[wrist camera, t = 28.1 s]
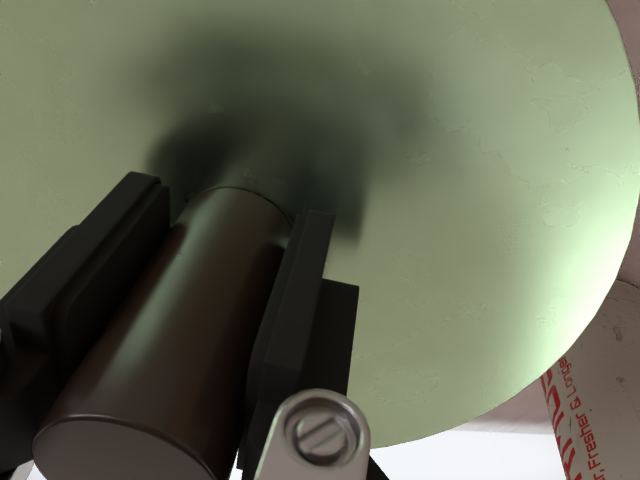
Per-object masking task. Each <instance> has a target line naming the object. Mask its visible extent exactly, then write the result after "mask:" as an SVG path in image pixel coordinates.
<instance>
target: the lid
mask: <svg viewBox="0 0 640 480" xmlns="http://www.w3.org/2000/svg"><path fill="white" fill-rule="evenodd" d="M130 171H135V172H139V173H144V174H149V175H153V176H158V177H160V178H161V181H162V185H166V186H168V187H169V189H170V231H169V232H168V234H167V235H166V237H165V238H164V240H163V241H162V243H161V244H160V246H159V247H158V249H157V250H156V252H155V253H154V255H153V256H152V258H151V259H150V260H149V262H148V263H147V265H146V266H145V268H144V269H143V271H142V272H141V274H140V275H139V277H138V278H137V280H136V281H135V283H134V284H133V286H132V287H131V289H130V290H129V292H128V293H127V295H126V296H125V298H124V299H123V300H122V302H121V303H120V305H119V306H118V308H117V309H116V311H115V312H114V314H113V315H112V317H111V318H110V320H109V321H108V323H107V324H106V326H105V327H104V329H103V330H102V332H101V333H100V335H99V336H98V338H97V339H96V340H95V342H94V343H93V345H92V346H91V348H90V349H89V351H88V352H87V354H86V355H85V357H84V358H83V360H82V361H81V363H80V364H79V366H78V367H77V369H76V370H75V372H74V373H73V375H72V376H71V378H70V379H69V380H68V382H67V383H66V385H65V386H64V388H63V389H62V391H61V392H60V394H59V395H58V397H57V398H56V400H55V401H54V403H53V404H52V406H51V407H50V409H49V410H48V412H47V413H46V415H45V416H44V418H43V419H42V420H41V422H40V423H39V425H38V426H37V428H36V429H35V431H34V433H33V436H32V439H31V455H32V458H33V460H34V463H35V465H36V466H37V468H38V470H39V471H40V472H41V473H42V475H43V476H44V477H45V478H46V479H47V480H229V478H230V475H231V471H232V468H233V465H234V461H235V458H236V455H237V451H238V448H239V445H240V441H241V438H242V435H243V431H244V427H245V418H244V412H243V408H244V400H245V392H246V383H247V375H248V368H249V363H250V358H251V354H252V350H253V346H254V343H255V340H256V337H257V334H258V331H259V328H260V325H261V322H262V319H263V316H264V313H265V310H266V307H267V304H268V301H269V298H270V295H271V292H272V289H273V286H274V283H275V280H276V277H277V274H278V271H279V268H280V265H281V262H282V259H283V256H284V253H285V250H286V247H287V244H288V241H289V238H290V235H291V232H292V229H293V226H294V223H295V220H296V217H297V214H300V215H305V216H307V215H308V212H309V210H310V209H311V210H316V211H320V212H325V213H329V214H334V215H336V216H335V221H334V225H333V230H332V235H331V239H330V244H329V249H328V253H327V258H326V262H325V267H324V272H323V276H322V278H325V279H329V280H334V281H339V282H343V283H348V284H352V285H357V286H359V288H360V289H359V299H358V307H357V315H356V323H355V332H354V340H353V348H352V356H351V364H350V373H349V381H348V389H347V398H348V399H350V400H351V401H352V402H354V403H355V404H356V405H357V406H358V407H359V409H360V410H361V411H362V413H363V414H364V415H365V417H366V419H367V422H368V425H369V427H370V432H371V446H370V449H373V448H381V447H388V446H392V445H397V444H400V443H405V442H410V441H414V440H418V439H422V438H425V437H428V436H431V435H434V434H437V433H440V432H443V431H446V430H449V429H452V428H454V427H456V426H459V425H461V424H463V423H465V422H468V421H470V420H472V419H474V418H477V417H479V416H481V415H483V414H485V413H487V412H488V411H490V410H492V409H494V408H495V407H497V406H499V405H500V404H502V403H504V402H505V401H507V400H509V399H511V398H512V397H514V396H515V395H517V394H518V393H519V392H521V391H522V390H523V389H525V388H526V387H527V386H529V385H530V384H531V383H533V382H534V381H535V380H536V379H538V378H539V377H540V376H542V375H543V374H544V373H545V372H546V371H547V370H548V369H549V368H550V367H551V366H552V365H553V364H554V363H555V362H556V361H557V360H558V359H560V358H561V357H562V356H563V355H564V354H565V353H566V352H567V351H568V350H569V349H570V348H571V346H572V345H573V344H574V343H575V341H576V340H577V339H578V337H579V336H580V335H581V334H582V332H583V331H584V330H585V328H586V327H587V326H588V325H589V323H590V322H591V321H592V319H593V318H594V317H595V315H596V313H597V312H598V310H599V308H600V306H601V305H602V303H603V301H604V299H605V298H606V296H607V294H608V292H609V291H610V289H611V287H612V285H613V284H614V282H615V280H616V277H617V275H618V272H619V269H620V267H621V264H622V261H623V259H624V256H625V254H626V251H627V248H628V246H629V243H630V240H631V237H632V232H633V227H634V223H635V218H636V213H637V208H638V203H639V198H640V111H639V103H638V95H637V87H636V82H635V79H634V75H633V72H632V69H631V65H630V62H629V59H628V55H627V52H626V49H625V45H624V42H623V39H622V36H621V32H620V29H619V26H618V23H617V21H616V19H615V17H614V15H613V13H612V11H611V9H610V7H609V5H608V3H607V1H606V0H0V300H1V299H2V298H3V297H4V295H5V294H6V293H7V292H8V291H9V290H10V289H11V288H12V287H13V286H14V285H15V284H16V283H17V282H18V281H19V280H20V279H21V278H22V277H23V276H24V275H25V274H26V273H27V272H28V271H29V270H30V269H31V267H32V266H33V265H34V264H35V263H36V262H37V261H38V260H39V259H40V258H41V257H42V256H43V255H44V254H45V253H46V252H47V251H48V250H49V249H50V248H51V247H52V246H53V245H54V244H55V243H56V242H57V241H58V239H59V238H60V237H61V236H62V235H63V234H64V233H65V232H66V231H67V230H68V229H70V228H71V227H72V226H75V225H79V224H80V223H81V222H82V221H83V220H84V219H85V218H86V217H87V216H88V215H89V214H90V212H91V211H92V210H93V209H94V208H95V207H96V206H97V205H98V204H99V203H100V202H101V201H102V200H103V199H104V198H105V197H106V196H107V195H108V193H109V192H110V191H111V190H112V189H113V188H114V187H115V186H116V185H117V184H118V183H119V182H120V181H121V180H122V179H123V178H124V177H125V176H126V174H127V173H129V172H130Z"/></svg>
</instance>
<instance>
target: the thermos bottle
mask: <svg viewBox="0 0 640 480" xmlns="http://www.w3.org/2000/svg"><path fill="white" fill-rule="evenodd" d="M540 379H541V383H542V387H543V390H544V394H545V398H546V402H547V406H548V410H549V414H550V418H551V422H552V425H553V429H554V433H555V437H556V441H557V445H558V449H559V452H560V456H561V460H562V464H563V468H564V472H565V476H566V480H640V290H639V289H638V288H636V287H634V286H632V285H630V284H628V283H625V282H622V281H619V280H615V282H614V284H613V285H612V287H611V289H610V291H609V292H608V294H607V296H606V298H605V299H604V301H603V303H602V305H601V306H600V308H599V310H598V312H597V313H596V315H595V317H594V318H593V319H592V321H591V322H590V323H589V325H588V326H587V327H586V328H585V330H584V331H583V332H582V334H581V335H580V336H579V337H578V339H577V340H576V341H575V343H574V344H573V345H572V346H571V348H570V349H569V350H568V351H567V352H566V353H565V354H564V355H563V356H562V357H561V358H560V359H558V360H557V361H556V362H555V363H554V364H553V365H552V366H551V367H550V368H549V369H548V370H547V371H546V372H545V373H544V374H543V375H542V376H540Z"/></svg>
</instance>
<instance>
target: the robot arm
mask: <svg viewBox="0 0 640 480" xmlns="http://www.w3.org/2000/svg"><path fill="white" fill-rule="evenodd" d="M335 216H336V215H334V214H329V213H325V212H320V211H316V210H311V209H310V210H309V212H308V215H307V216H305V215H300V214H297V217H296V220H295V223H294V226H293V229H292V232H291V235H290V238H289V241H288V244H287V247H286V250H285V253H284V256H283V259H282V262H281V265H280V268H279V271H278V274H277V277H276V280H275V283H274V286H273V289H272V292H271V295H270V298H269V301H268V304H267V307H266V310H265V313H264V316H263V319H262V322H261V325H260V328H259V331H258V334H257V337H256V340H255V343H254V346H253V350H252V354H251V358H250V363H249V368H248V375H247V383H246V392H245V400H244V408H243V412H244V418H245V427H244V431H243V435H242V438H241V441H240V445H239V449H238V458H237V466H236V468H237V469H241V470H243V473H242V479H241V480H389V479H388V477H387V476H386V475H385V474H384V472H383V471H382V470H381V469H380V467H379V466H378V465H377V464H376V463H375V461H374V460H373V459H372V458H371V456H370V455H369V453H370V446H371V432H370V427H369V425H368V422H367V419H366V417H365V415H364V414H363V413H362V411H361V410H360V409H359V407H358V406H357V405H356V404H355V403H354V402H352V401H351V400H350V399H348V398H347V389H348V381H349V373H350V364H351V356H352V348H353V340H354V332H355V323H356V315H357V307H358V299H359V289H360V288H359V286H357V285H352V284H348V283H343V282H339V281H334V280H329V279H325V278H322V276H323V272H324V267H325V262H326V258H327V253H328V249H329V244H330V239H331V235H332V230H333V225H334V221H335ZM169 231H170V189H169V187H168V186H166V185H162V181H161V178H160V177H158V176H153V175H149V174H144V173H139V172H135V171H130V172H129V173H127V174H126V176H125V177H124V178H123V179H122V180H121V181H120V182H119V183H118V184H117V185H116V186H115V187H114V188H113V189H112V190H111V191H110V192H109V193H108V195H107V196H106V197H105V198H104V199H103V200H102V201H101V202H100V203H99V204H98V205H97V206H96V207H95V208H94V209H93V210H92V211H91V212H90V214H89V215H88V216H87V217H86V218H85V219H84V220H83V221H82V222H81V223H80V224H79V225H75V226H72V227H71V228H70V229H68V230H67V231H66V232H65V233H64V234H63V235H62V236H61V237H60V238H59V239H58V241H57V242H56V243H55V244H54V245H53V246H52V247H51V248H50V249H49V250H48V251H47V252H46V253H45V254H44V255H43V256H42V257H41V258H40V259H39V260H38V261H37V262H36V263H35V264H34V265H33V266H32V267H31V269H30V270H29V271H28V272H27V273H26V274H25V275H24V276H23V277H22V278H21V279H20V280H19V281H18V282H17V283H16V284H15V285H14V286H13V287H12V288H11V289H10V290H9V291H8V292H7V293H6V294H5V295H4V297H3V298H2V299H1V300H0V480H26V479H27V477H28V476H29V474H30V472H31V470H32V467H33V465H34V460H33V458H32V455H31V439H32V436H33V433H34V431H35V429H36V428H37V426H38V425H39V423H40V422H41V420H42V419H43V418H44V416H45V415H46V413H47V412H48V410H49V409H50V407H51V406H52V404H53V403H54V401H55V400H56V398H57V397H58V395H59V394H60V392H61V391H62V389H63V388H64V386H65V385H66V383H67V382H68V380H69V379H70V378H71V376H72V375H73V373H74V372H75V370H76V369H77V367H78V366H79V364H80V363H81V361H82V360H83V358H84V357H85V355H86V354H87V352H88V351H89V349H90V348H91V346H92V345H93V343H94V342H95V340H96V339H97V338H98V336H99V335H100V333H101V332H102V330H103V329H104V327H105V326H106V324H107V323H108V321H109V320H110V318H111V317H112V315H113V314H114V312H115V311H116V309H117V308H118V306H119V305H120V303H121V302H122V300H123V299H124V298H125V296H126V295H127V293H128V292H129V290H130V289H131V287H132V286H133V284H134V283H135V281H136V280H137V278H138V277H139V275H140V274H141V272H142V271H143V269H144V268H145V266H146V265H147V263H148V262H149V260H150V259H151V258H152V256H153V255H154V253H155V252H156V250H157V249H158V247H159V246H160V244H161V243H162V241H163V240H164V238H165V237H166V235H167V234H168V232H169Z"/></svg>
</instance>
